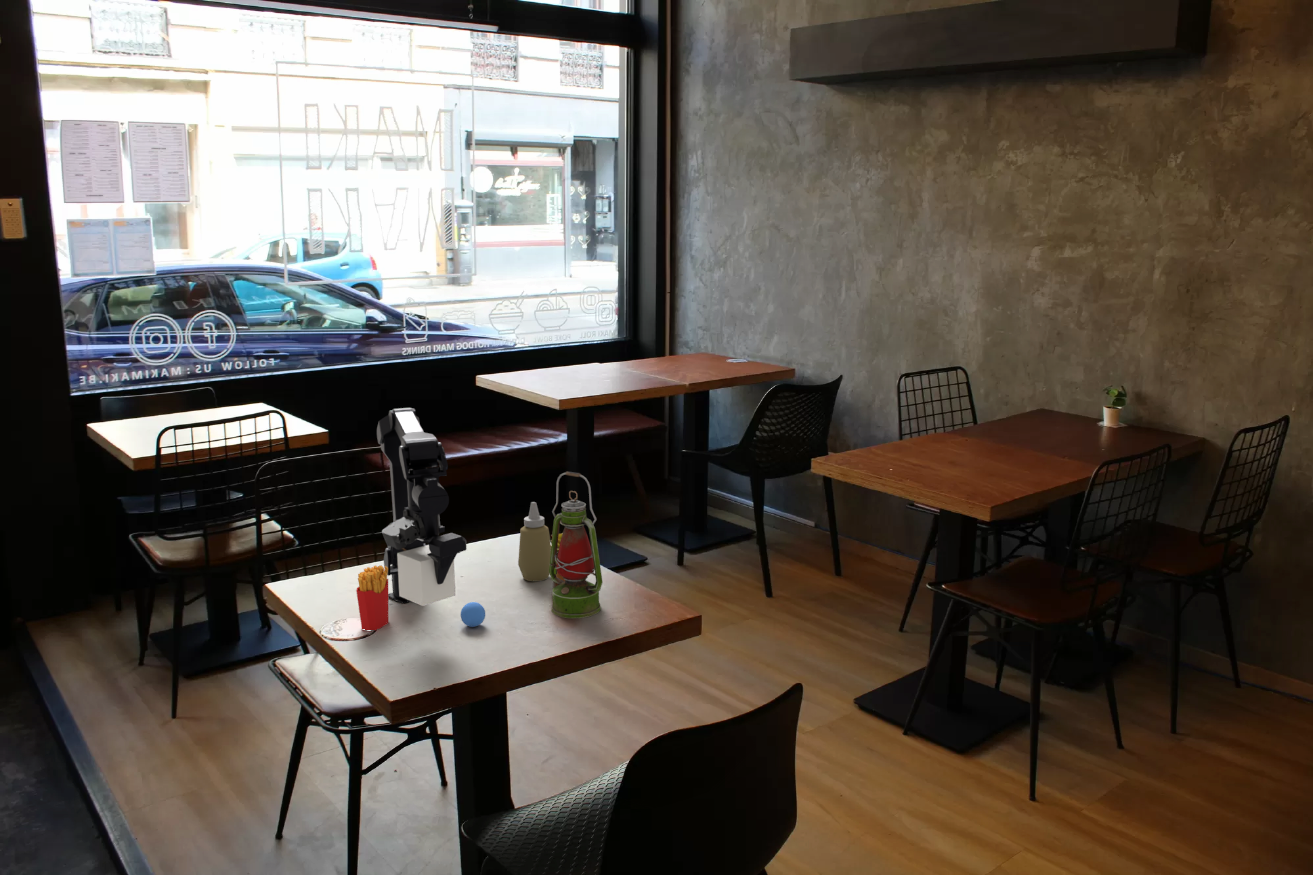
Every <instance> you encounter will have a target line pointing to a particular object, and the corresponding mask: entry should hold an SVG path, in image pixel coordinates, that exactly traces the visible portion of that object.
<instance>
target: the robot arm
mask: <svg viewBox="0 0 1313 875" xmlns="http://www.w3.org/2000/svg"><path fill="white" fill-rule="evenodd" d="M376 438H377V443H378V444H379V445H380V450H381V451H382V452H383V454H384V455H385V456H386V458H387V460H388V461H389V471H390V472H389V473H390V485H391V486H390V491H391V502H392V516H393V518H392V519H393V522H390V523H389V524H388V525H387V526H386V527H384V528H383V529H382V530H381V533H382V537H383V538H384V541H385V543H386V545H387V547H386V548H385V550H384V556H383V565H384V566H383V568H384V569H385V566H386V567H387V568H388V574H387V577H389V576H391V583H392V584H391V585H392V586H391V587H392V592H390V593H388V599H392V600H394V601H397V602H398V603H401V604H406V603H409V602H411V601H410V600H407V599H405V598H403V597H400V596H399V578H398V558H397V553H400V552H403V551H407V550H411V549H415V548H418V547H422V546H426V543H427V544H428V545H429V550H430V552H431V553H429V554H427V555H428V556H429V557H431V558H432V559H433V561H434V567H435V574H436V580H437V584H442V583H443V582H444V580H445V578H446V575H447V573H448V571H449V568H450V566H451V564H452V562H453V560H454V561H455V558H456V556H457V554H459V553H461V552H466V551H467V539H466V538H465V537H464V536H462V535H459V534H456V533H453V532H450V533H445V531H446V530H445V529H446V528H445V526H443V525H441V521H440V519H441V518H440V515H441V514H442V513H444V512H445V511H446V509H447V508H448V506H449V505H450V496H449V493H448V492H447V490H446V489H445V488H444V487H443V486H442V485H441V483H440V477H445V476H446V477H447V475H448V473H447V470H448V469H449V465H448V460H447V456H446V452H445V448H444V447H443V445H442V442H439V440H438V438H437V437H436V436H435V435H434V434H433V433H428V432H424V429H423V428H422V426H421V424H420V418H419V416H417V412H416V409H415V408H412V407H403V408H402V407H400V408H399V407H398V408H393V409H392V410H389V411H388V415H386V416H384V417H383V418H381V419H379V420H378V424H377V427H376ZM442 533H445V534H443V535H440V534H442Z"/></svg>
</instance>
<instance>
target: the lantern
mask: <svg viewBox="0 0 1313 875" xmlns="http://www.w3.org/2000/svg"><path fill="white" fill-rule="evenodd" d="M564 475H566V476H569V477H576V478H582V479H583V480H585V482H586V484H587V487H588V494H589V495H588V496H589V497H588V498H589V510H590V512H591V514H592V517H593V519H594V520H593V521H592V520H591V519H589V518H588V517H587V511H586V510H587V508H586V505H587V504H586V503H585V502H583V501H581V500H578V493H577V491H575V490H574V491H573V490H570V491H569V492H568V497H569V499H570V500H568V501H565V502H562V503H561V507H562V508H561V512H560V513H557V514H556V513H555V511H556V509H557V507H558V504H559V482H560V479H561V478H562V476H564ZM571 493H575V494H576V495H575V496H576V497H575V498H574V499H573V498H572V497H571ZM555 494H556V497H555V499H556V501H555V502H556V503H555V505H554V507H553V509H552V511H551V512H552V515H553V517H554V519H553V526H552V534H551V537H552V538H551V555H550V564H549V573H550V574H549V577H550V580H551V581H552V582H554V583H555V584H557V585H555V586H554V587H553V588H552V591H551V593H552V597H551V598H552V604H551V613H553V615H554V616H558V617H560V618H566V619H584V618H588V617H593V616H594V614H595V615H597V614H598V613H600V611H601V609H602V607H601V603H600V591H601V589H602V586H603V576H602V569H601V563H600V562H601V561H600V560H601V559H600V555H599V554H600V553H599V548H598V541H597V540H598V539H597V533H596V528H595V526H594V525H595V523H596V521H597V517H596V515H595V513H594V510H593V504H592V490H591V485H590V482H589V481H588V479H587V477H585V476H584V475H582V474H581V473H580V472H572V471H565V472H563V473H561V474H559V476H558V477H557V480H556V493H555ZM561 525H562V526H564V529H563V531H562V535H561V539H560V541H559V534H560V526H561ZM585 526H587V528H588V532H589V533H588V534H589V536H588V534H587V531H586V528H585ZM558 545H559V547H558ZM557 574H558V575H560V576H561V577H562V579H563V580H562V579H560V578H559V577H557V576H558V575H557ZM590 575H593V576H595V583H592V582H590V581H588V580H587V578H588V577H589V576H590Z"/></svg>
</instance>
